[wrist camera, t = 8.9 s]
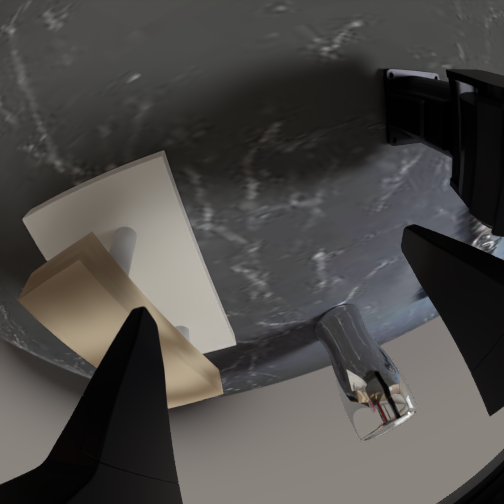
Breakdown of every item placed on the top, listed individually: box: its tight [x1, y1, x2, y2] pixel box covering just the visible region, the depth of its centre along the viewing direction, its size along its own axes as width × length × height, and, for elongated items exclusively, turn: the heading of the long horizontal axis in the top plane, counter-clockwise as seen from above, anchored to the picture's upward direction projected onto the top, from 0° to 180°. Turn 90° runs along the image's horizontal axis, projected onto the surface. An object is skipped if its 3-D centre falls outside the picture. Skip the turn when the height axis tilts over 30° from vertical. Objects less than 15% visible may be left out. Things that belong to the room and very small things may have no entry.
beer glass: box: [314, 304, 419, 442], centre depth 26 cm, size 7×7×15 cm
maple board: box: [18, 232, 223, 408], centre depth 17 cm, size 16×6×2 cm, turn 21°
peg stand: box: [22, 150, 236, 354], centre depth 20 cm, size 12×20×6 cm, turn 11°
